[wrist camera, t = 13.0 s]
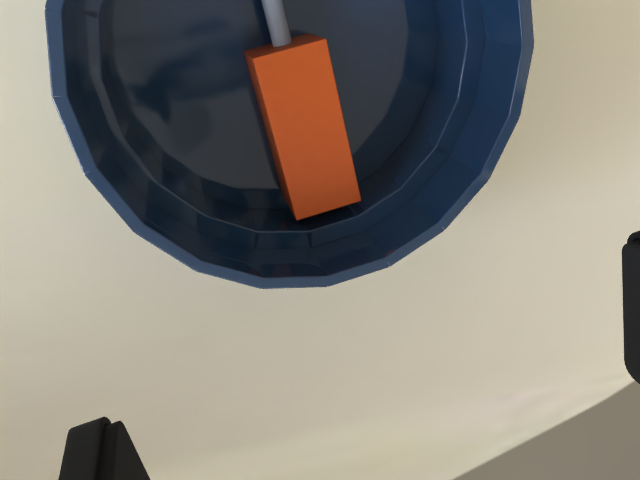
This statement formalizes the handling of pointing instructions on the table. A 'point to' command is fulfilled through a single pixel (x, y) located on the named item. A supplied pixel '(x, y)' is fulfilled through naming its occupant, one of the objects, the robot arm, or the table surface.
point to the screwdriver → (302, 118)
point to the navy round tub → (250, 136)
